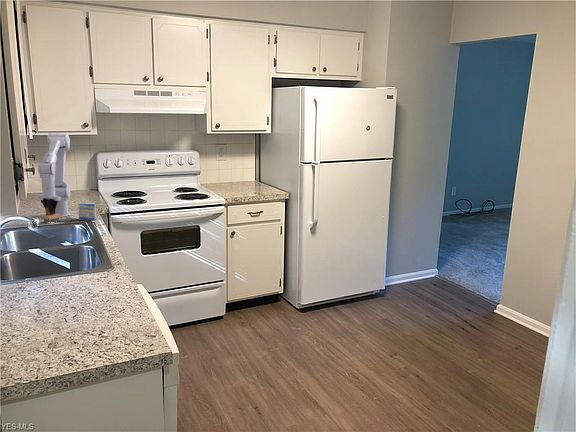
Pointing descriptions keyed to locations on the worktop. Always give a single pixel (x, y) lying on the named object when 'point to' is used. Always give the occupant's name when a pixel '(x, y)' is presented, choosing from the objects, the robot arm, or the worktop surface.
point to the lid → (50, 215)
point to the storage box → (51, 220)
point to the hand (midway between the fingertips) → (50, 213)
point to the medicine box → (87, 211)
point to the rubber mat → (69, 219)
